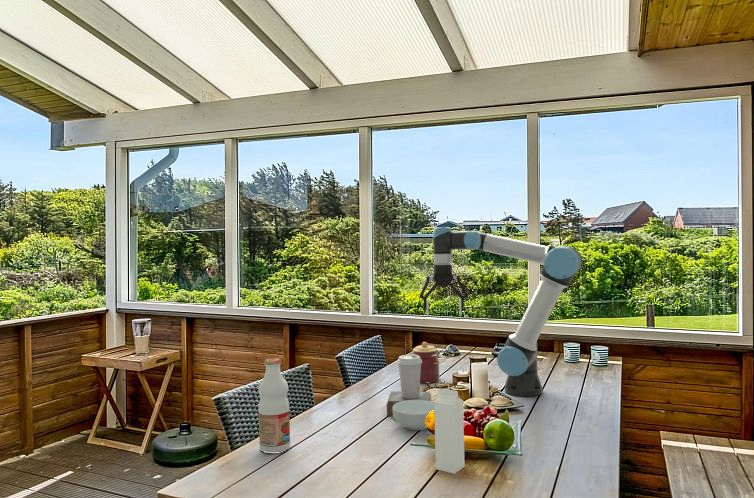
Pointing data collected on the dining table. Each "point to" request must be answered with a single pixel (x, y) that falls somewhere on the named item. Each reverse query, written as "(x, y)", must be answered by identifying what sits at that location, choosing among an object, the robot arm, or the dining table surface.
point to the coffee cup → (409, 375)
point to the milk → (449, 431)
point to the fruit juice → (273, 409)
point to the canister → (428, 363)
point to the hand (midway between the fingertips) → (444, 315)
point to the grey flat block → (397, 397)
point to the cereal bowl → (412, 413)
